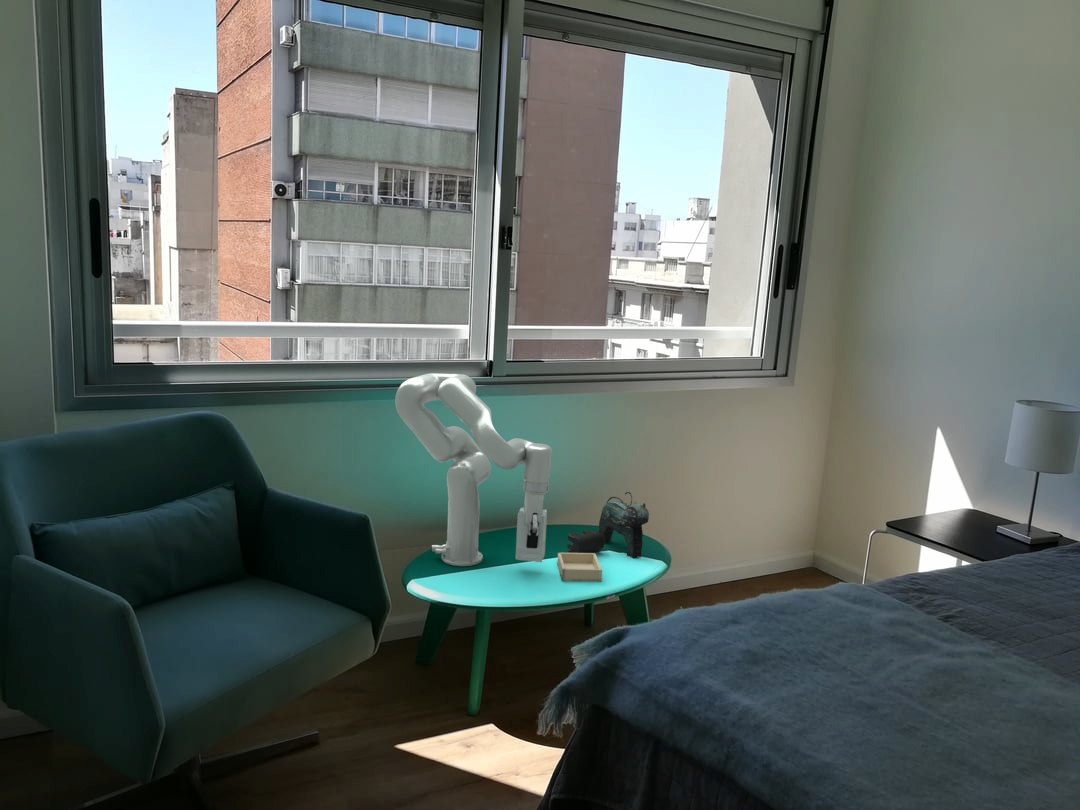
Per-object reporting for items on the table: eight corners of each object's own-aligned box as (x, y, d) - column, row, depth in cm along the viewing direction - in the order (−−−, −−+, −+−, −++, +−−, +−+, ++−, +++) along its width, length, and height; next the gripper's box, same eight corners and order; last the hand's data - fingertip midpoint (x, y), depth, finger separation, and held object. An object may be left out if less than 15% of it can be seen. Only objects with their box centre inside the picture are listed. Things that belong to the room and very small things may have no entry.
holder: (562, 581, 250) (562, 569, 250) (557, 563, 264) (557, 552, 263) (601, 581, 251) (602, 570, 251) (594, 564, 265) (595, 553, 264)
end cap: (579, 560, 268) (580, 539, 266) (565, 552, 273) (566, 532, 272) (603, 554, 273) (605, 534, 272) (590, 547, 279) (591, 527, 278)
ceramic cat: (647, 558, 272) (652, 497, 269) (631, 561, 269) (636, 500, 265) (607, 538, 288) (612, 481, 284) (592, 541, 285) (596, 483, 281)
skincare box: (544, 556, 258) (549, 509, 255) (541, 563, 252) (545, 515, 249) (517, 552, 259) (521, 505, 256) (513, 559, 253) (517, 511, 251)
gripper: (521, 476, 259) (516, 532, 263) (525, 494, 242) (519, 553, 246) (546, 477, 260) (540, 533, 264) (551, 495, 243) (545, 554, 247)
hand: (530, 542), depth 255 cm, fingers closed on skincare box, 6 cm apart
